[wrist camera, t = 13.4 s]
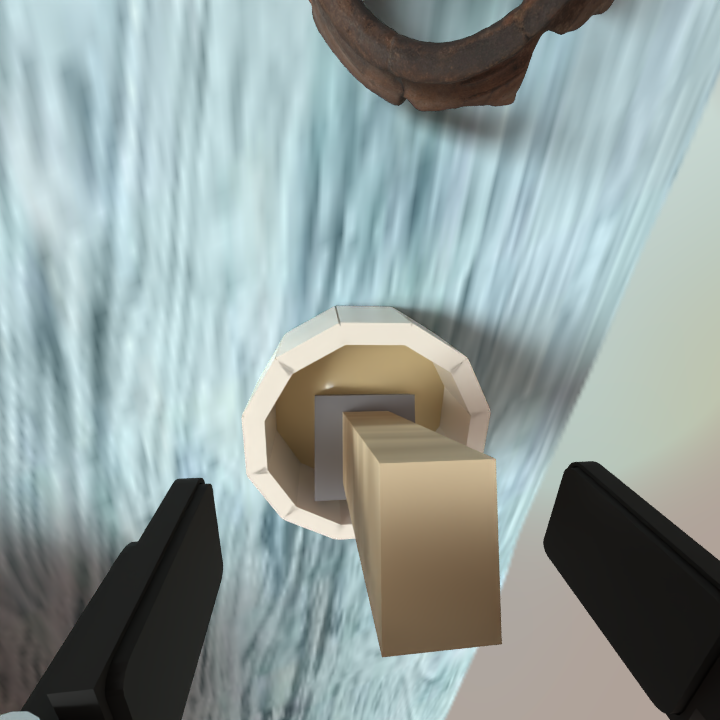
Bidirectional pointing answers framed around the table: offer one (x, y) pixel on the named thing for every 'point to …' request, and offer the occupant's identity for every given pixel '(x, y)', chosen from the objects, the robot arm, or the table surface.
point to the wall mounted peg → (413, 521)
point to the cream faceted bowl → (350, 376)
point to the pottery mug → (445, 52)
